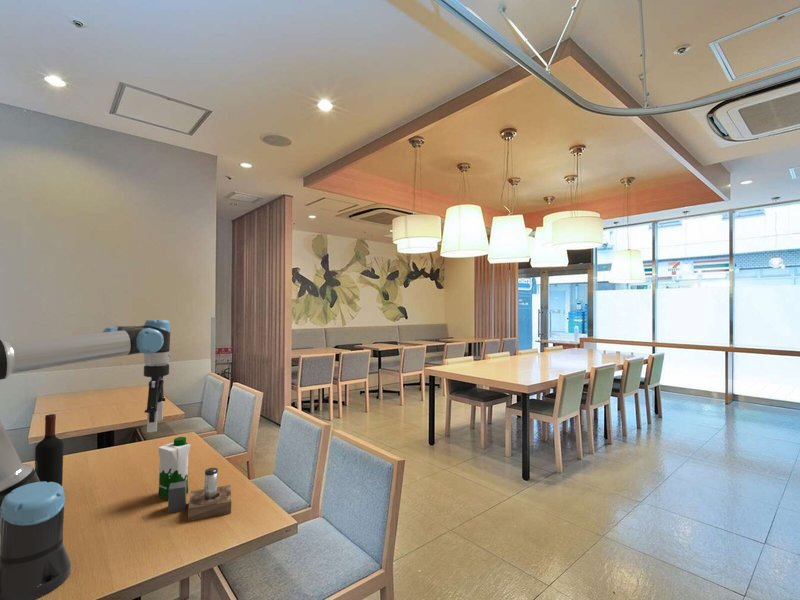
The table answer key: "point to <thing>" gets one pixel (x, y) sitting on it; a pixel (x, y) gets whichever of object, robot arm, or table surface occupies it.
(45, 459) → the wine bottle
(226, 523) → the table surface
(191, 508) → the socket block
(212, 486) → the rod
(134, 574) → the table surface
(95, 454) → the table surface
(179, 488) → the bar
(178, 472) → the milk carton
